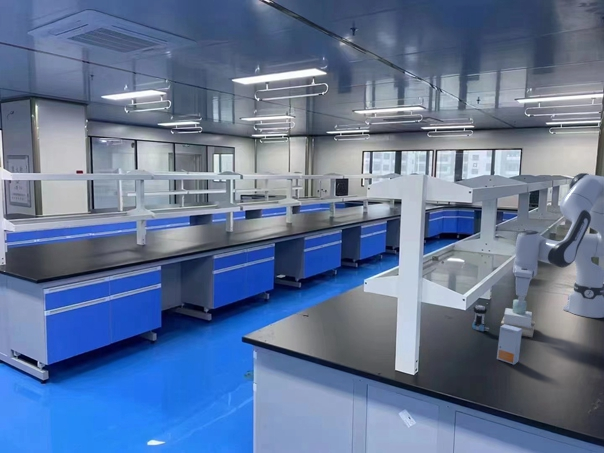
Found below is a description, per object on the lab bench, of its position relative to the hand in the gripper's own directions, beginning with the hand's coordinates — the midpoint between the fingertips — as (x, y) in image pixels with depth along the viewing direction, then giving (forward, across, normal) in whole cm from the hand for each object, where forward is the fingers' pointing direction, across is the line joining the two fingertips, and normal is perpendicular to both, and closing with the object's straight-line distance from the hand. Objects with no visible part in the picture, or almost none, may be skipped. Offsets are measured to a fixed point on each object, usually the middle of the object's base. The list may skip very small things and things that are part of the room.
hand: (521, 301), depth 185 cm
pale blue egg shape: (+5, 0, -1) cm, 5 cm away
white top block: (+9, +1, -1) cm, 9 cm away
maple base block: (+13, 0, 0) cm, 13 cm away
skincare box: (+12, +38, -1) cm, 40 cm away
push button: (+12, +10, -14) cm, 21 cm away
